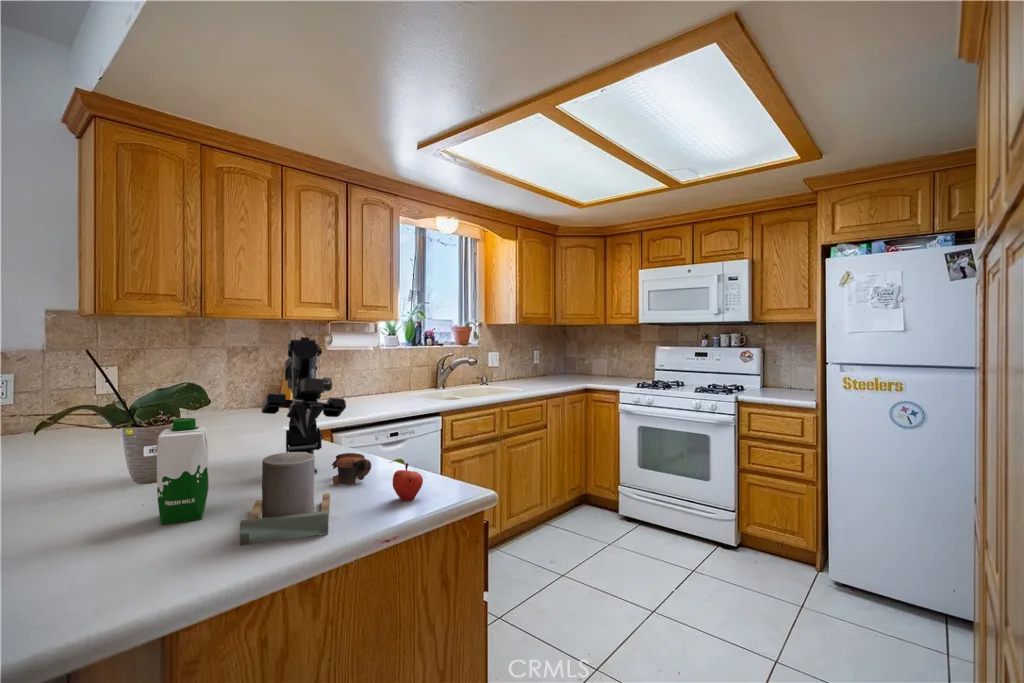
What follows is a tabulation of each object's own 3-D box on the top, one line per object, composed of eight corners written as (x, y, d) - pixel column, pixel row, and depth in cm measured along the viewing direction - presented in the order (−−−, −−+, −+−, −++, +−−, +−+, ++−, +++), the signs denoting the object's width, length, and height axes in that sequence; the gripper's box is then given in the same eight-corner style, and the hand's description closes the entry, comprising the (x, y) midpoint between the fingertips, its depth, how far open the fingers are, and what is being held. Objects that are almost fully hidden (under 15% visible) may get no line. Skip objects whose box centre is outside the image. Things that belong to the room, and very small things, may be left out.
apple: (408, 492, 118) (408, 451, 118) (428, 498, 114) (428, 456, 114) (383, 501, 112) (383, 458, 112) (403, 507, 108) (404, 463, 108)
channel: (256, 509, 106) (256, 491, 106) (329, 501, 111) (329, 484, 111) (239, 545, 89) (239, 523, 89) (327, 534, 94) (327, 513, 94)
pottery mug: (320, 487, 123) (325, 454, 127) (346, 493, 131) (349, 462, 135) (359, 479, 120) (362, 447, 124) (383, 486, 127) (385, 455, 131)
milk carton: (210, 506, 108) (209, 416, 107) (206, 520, 100) (205, 423, 99) (161, 512, 104) (161, 419, 103) (153, 528, 96) (153, 427, 95)
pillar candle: (250, 533, 94) (250, 456, 93) (280, 514, 104) (281, 444, 103) (297, 537, 93) (297, 459, 92) (323, 517, 102) (324, 446, 102)
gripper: (274, 359, 115) (274, 419, 106) (351, 368, 126) (357, 422, 118) (261, 383, 121) (260, 441, 113) (336, 390, 133) (340, 443, 124)
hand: (306, 436), depth 117 cm, fingers closed
